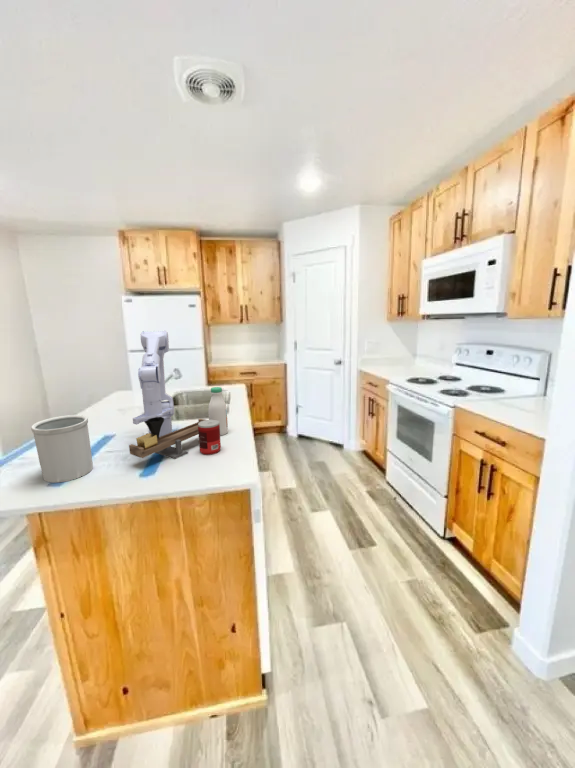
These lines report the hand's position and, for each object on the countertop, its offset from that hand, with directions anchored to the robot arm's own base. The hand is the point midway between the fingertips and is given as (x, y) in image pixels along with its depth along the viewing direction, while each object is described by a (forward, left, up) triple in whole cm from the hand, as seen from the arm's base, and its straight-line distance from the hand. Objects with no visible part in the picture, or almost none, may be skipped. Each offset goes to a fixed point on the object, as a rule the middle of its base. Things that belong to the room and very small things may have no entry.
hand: (155, 438), depth 117 cm
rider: (0, -3, -2) cm, 4 cm away
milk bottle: (0, +31, -8) cm, 32 cm away
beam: (0, +8, -3) cm, 9 cm away
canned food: (+11, +15, -8) cm, 20 cm away
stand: (0, +6, -8) cm, 10 cm away
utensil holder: (-16, -22, -8) cm, 28 cm away
